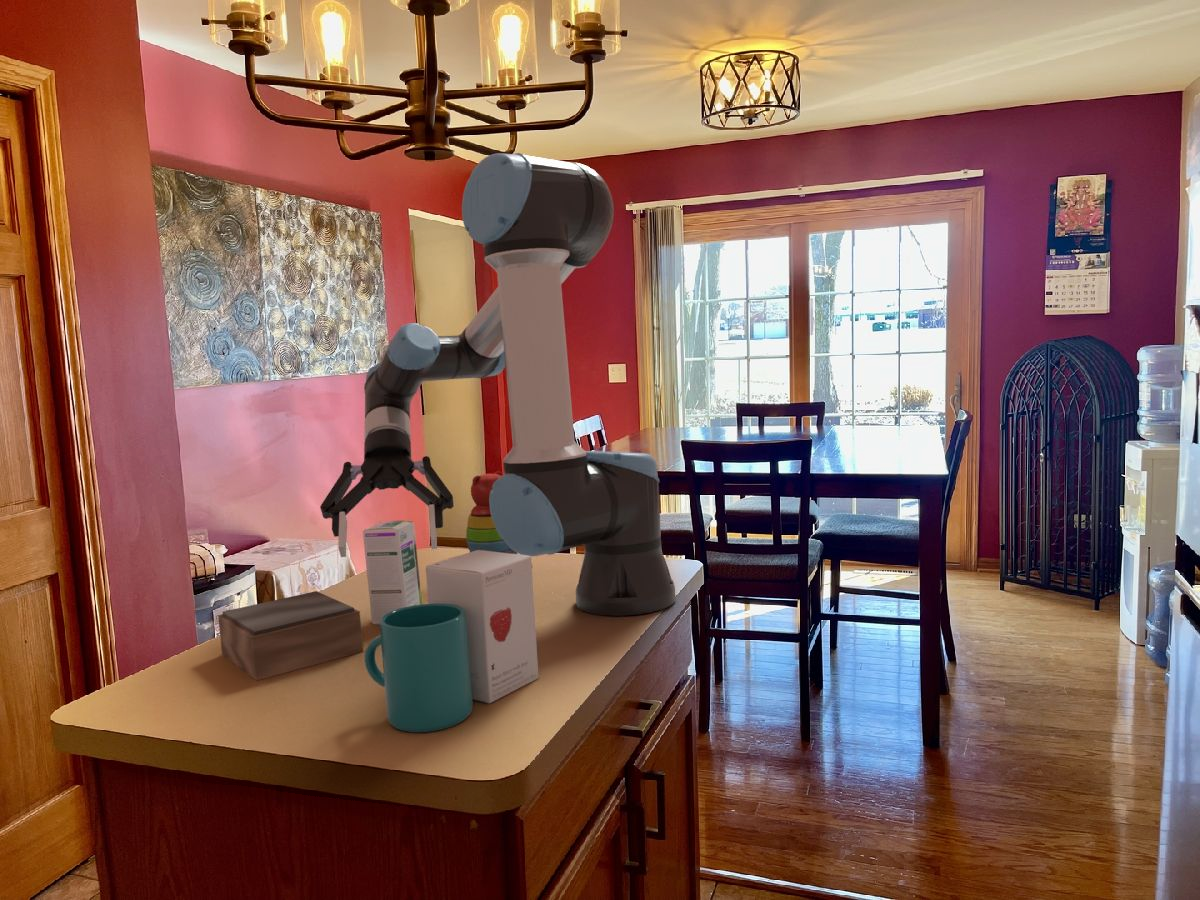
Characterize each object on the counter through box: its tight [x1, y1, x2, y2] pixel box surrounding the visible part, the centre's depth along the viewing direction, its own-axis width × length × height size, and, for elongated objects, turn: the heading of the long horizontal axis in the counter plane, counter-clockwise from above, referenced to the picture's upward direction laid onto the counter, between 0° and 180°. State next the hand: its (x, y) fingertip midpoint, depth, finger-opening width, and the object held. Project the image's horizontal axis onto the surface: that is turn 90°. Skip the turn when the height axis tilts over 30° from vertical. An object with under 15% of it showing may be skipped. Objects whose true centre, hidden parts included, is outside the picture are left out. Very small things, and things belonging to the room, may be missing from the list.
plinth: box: [217, 591, 364, 681], centre depth 117 cm, size 14×14×6 cm
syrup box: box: [362, 520, 423, 626], centre depth 130 cm, size 6×6×14 cm
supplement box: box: [425, 550, 539, 704], centre depth 101 cm, size 9×9×15 cm
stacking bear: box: [465, 471, 518, 554], centre depth 156 cm, size 11×10×18 cm
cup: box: [364, 603, 474, 733], centre depth 94 cm, size 9×12×11 cm
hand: (388, 548), depth 133 cm, fingers open, 13 cm apart
